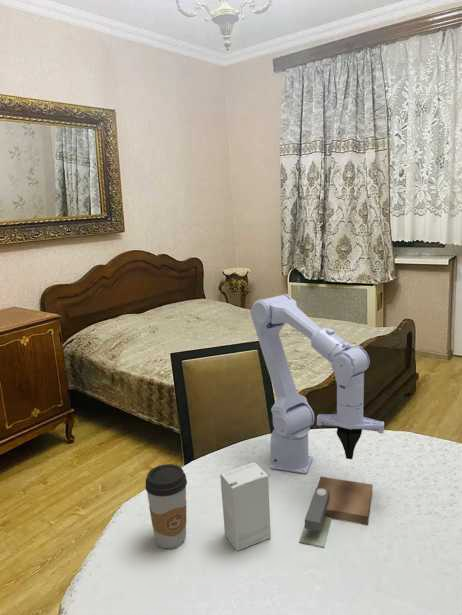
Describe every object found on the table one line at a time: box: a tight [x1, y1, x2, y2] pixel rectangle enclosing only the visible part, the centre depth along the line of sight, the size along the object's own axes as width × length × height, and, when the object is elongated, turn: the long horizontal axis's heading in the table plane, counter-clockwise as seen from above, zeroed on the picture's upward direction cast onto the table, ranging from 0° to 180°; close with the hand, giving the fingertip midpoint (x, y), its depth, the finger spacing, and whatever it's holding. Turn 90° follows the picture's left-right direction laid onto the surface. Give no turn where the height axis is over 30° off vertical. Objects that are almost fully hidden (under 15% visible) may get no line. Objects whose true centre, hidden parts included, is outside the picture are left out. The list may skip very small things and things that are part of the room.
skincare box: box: [219, 461, 272, 551], centre depth 99 cm, size 8×6×15 cm
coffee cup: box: [144, 463, 188, 549], centre depth 100 cm, size 8×8×15 cm
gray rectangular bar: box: [304, 487, 330, 531], centre depth 104 cm, size 12×3×2 cm, turn 159°
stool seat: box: [298, 476, 373, 549], centre depth 106 cm, size 12×22×2 cm, turn 160°
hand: (349, 456), depth 112 cm, fingers closed
